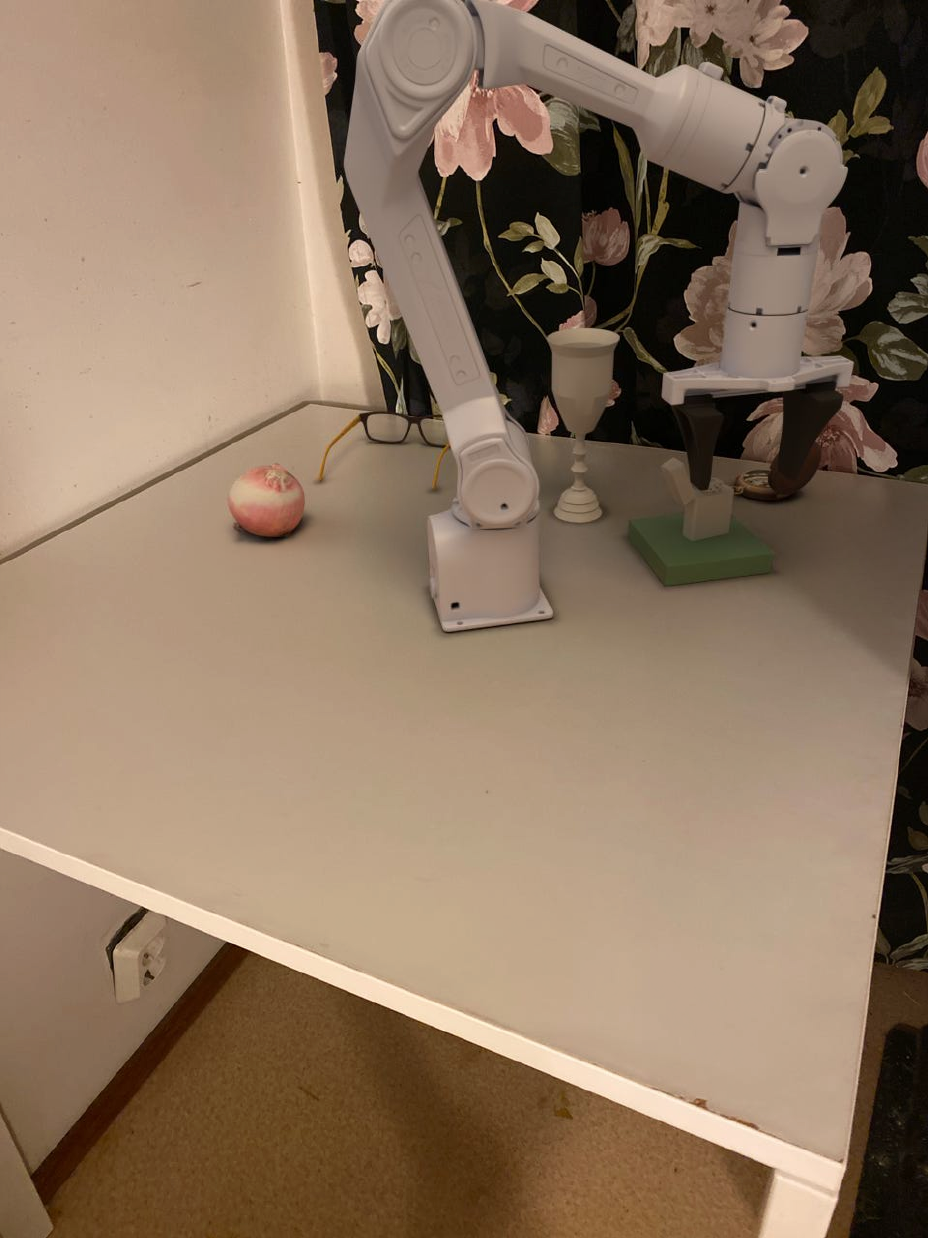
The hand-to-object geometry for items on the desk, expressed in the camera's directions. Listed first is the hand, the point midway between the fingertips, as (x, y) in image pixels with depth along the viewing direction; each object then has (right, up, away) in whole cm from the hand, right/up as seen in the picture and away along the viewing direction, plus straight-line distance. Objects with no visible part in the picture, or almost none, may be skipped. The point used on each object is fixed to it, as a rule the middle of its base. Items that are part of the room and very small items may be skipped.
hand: (743, 480), depth 70 cm
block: (-1, -5, +11) cm, 13 cm away
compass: (+9, +2, +22) cm, 24 cm away
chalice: (-11, 0, +21) cm, 23 cm away
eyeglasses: (-31, +7, +34) cm, 47 cm away
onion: (-43, -2, +20) cm, 47 cm away
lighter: (-1, -4, +10) cm, 11 cm away
